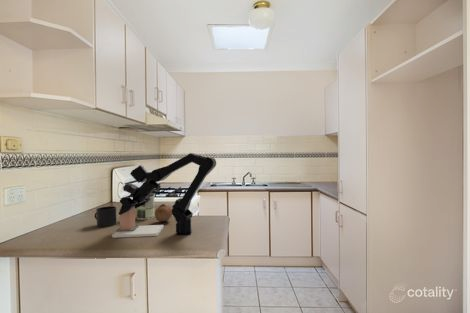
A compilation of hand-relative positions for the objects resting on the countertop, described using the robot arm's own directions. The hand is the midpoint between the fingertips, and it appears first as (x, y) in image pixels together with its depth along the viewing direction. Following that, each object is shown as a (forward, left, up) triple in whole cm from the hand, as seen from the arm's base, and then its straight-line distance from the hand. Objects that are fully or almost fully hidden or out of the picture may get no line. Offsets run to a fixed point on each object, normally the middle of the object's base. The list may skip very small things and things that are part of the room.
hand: (124, 212), depth 125 cm
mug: (+16, -14, -10) cm, 23 cm away
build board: (-7, +2, -9) cm, 12 cm away
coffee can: (-2, -27, -10) cm, 28 cm away
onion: (-15, -15, -10) cm, 23 cm away
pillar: (-1, 0, -8) cm, 8 cm away
